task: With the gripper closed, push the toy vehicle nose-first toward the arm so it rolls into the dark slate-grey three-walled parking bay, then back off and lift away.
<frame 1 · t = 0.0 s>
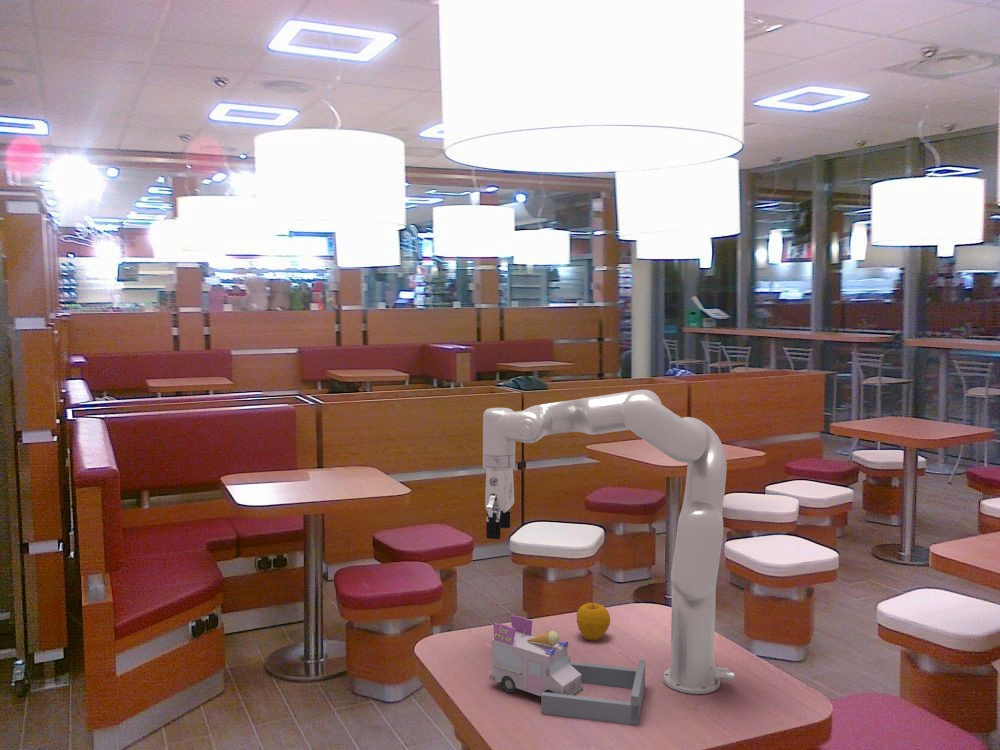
hand: (498, 533, 205), 31 cm above the table, tool pointing down, fingers open, 9 cm apart
toy vehicle: (535, 694, 191), on the table
parking bay: (594, 699, 188), on the table
apple: (593, 638, 222), on the table
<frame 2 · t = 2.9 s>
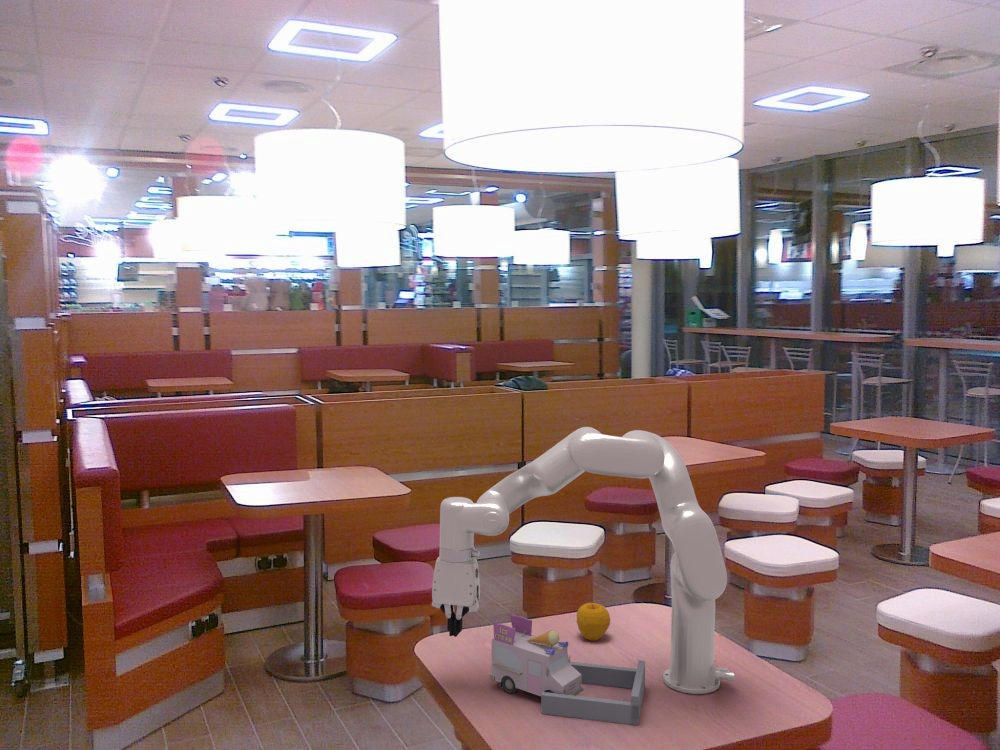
hand: (454, 634, 194), 12 cm above the table, tool pointing down, fingers closed
nothing on the table moved.
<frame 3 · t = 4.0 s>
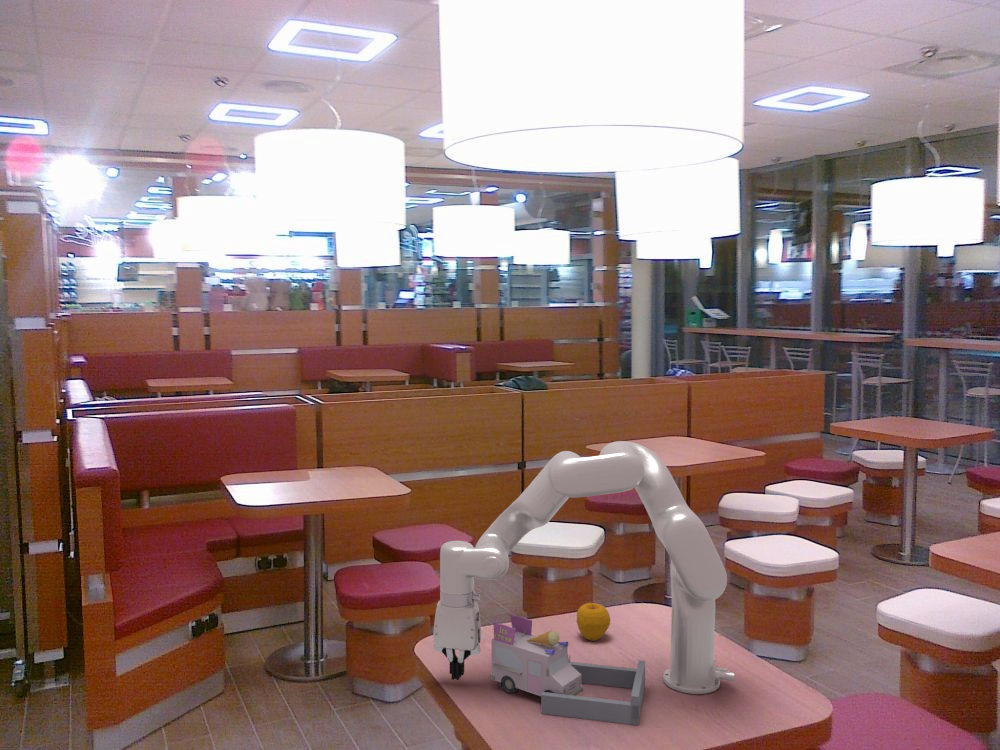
hand: (456, 677, 195), 2 cm above the table, tool pointing down, fingers closed
nothing on the table moved.
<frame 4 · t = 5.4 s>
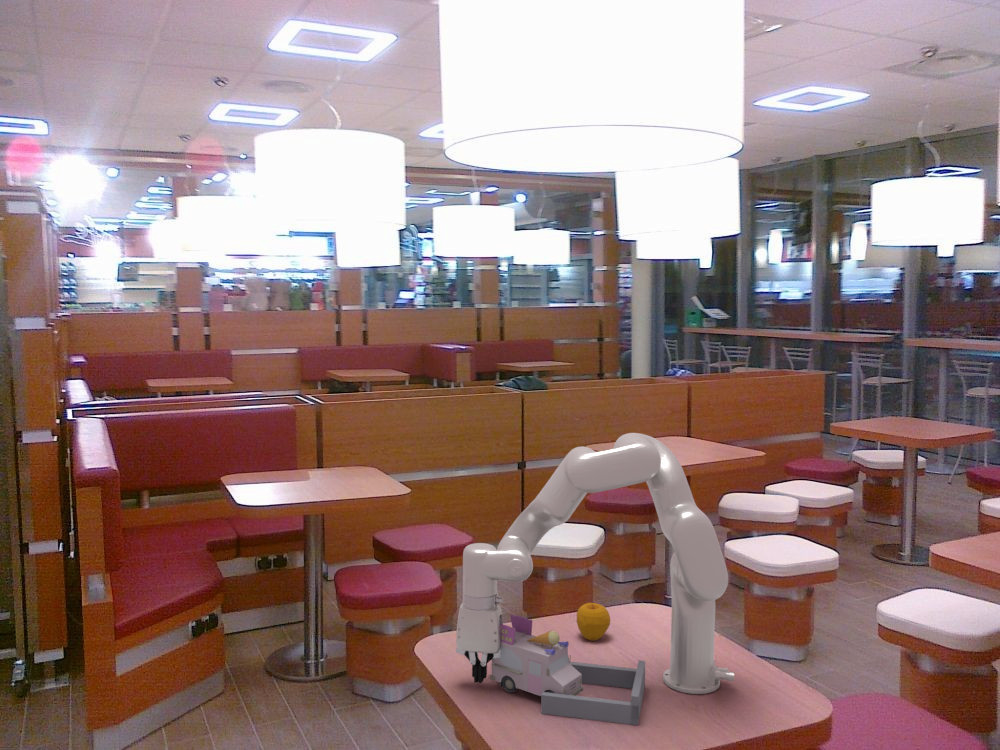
hand: (479, 680, 194), 1 cm above the table, tool pointing down, fingers closed
toy vehicle: (535, 694, 191), on the table, touching gripper
everything else where it was.
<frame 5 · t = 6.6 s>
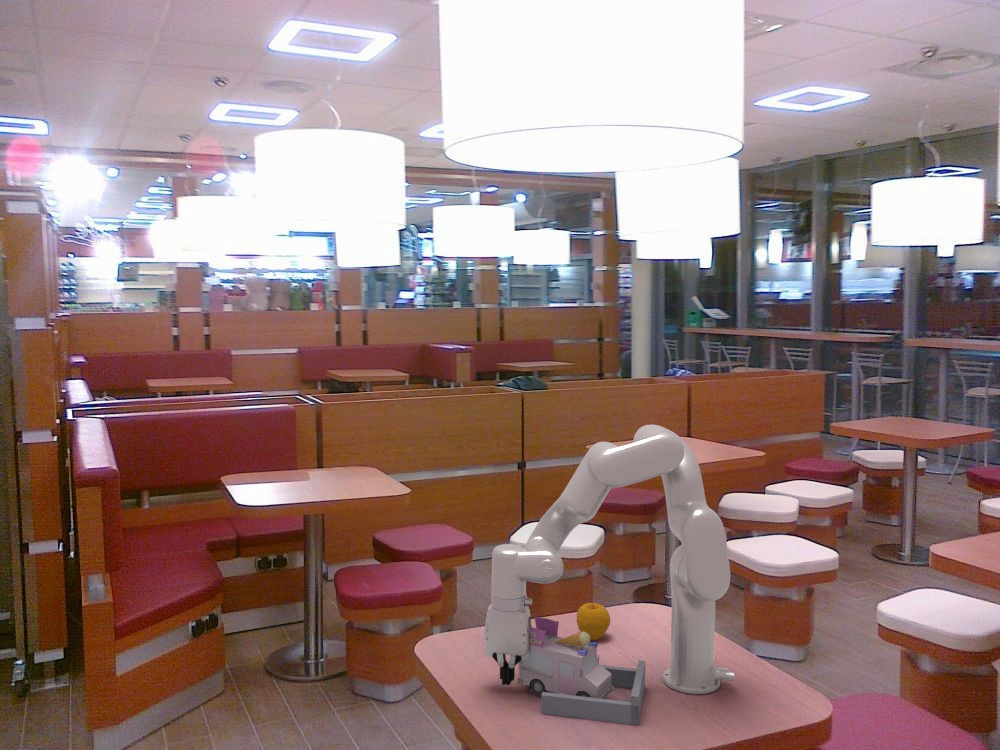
hand: (507, 682, 192), 2 cm above the table, tool pointing down, fingers closed
toy vehicle: (564, 695, 190), on the table, touching gripper
everything else where it was.
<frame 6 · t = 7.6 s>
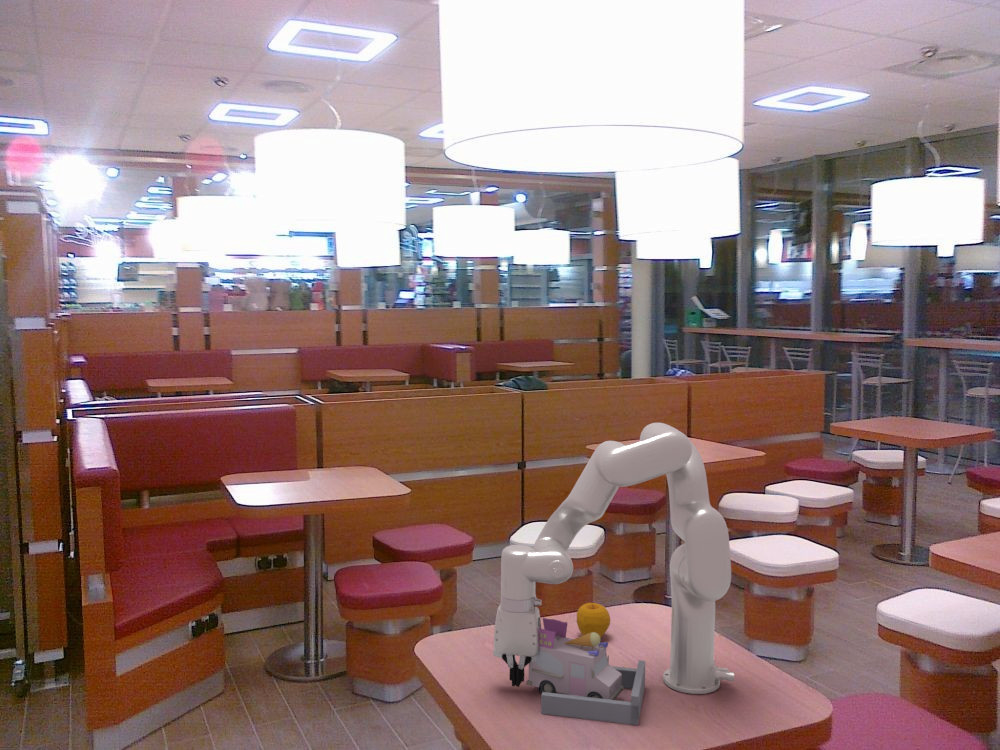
hand: (516, 683, 192), 2 cm above the table, tool pointing down, fingers closed
toy vehicle: (574, 696, 190), on the table, touching gripper
everything else where it was.
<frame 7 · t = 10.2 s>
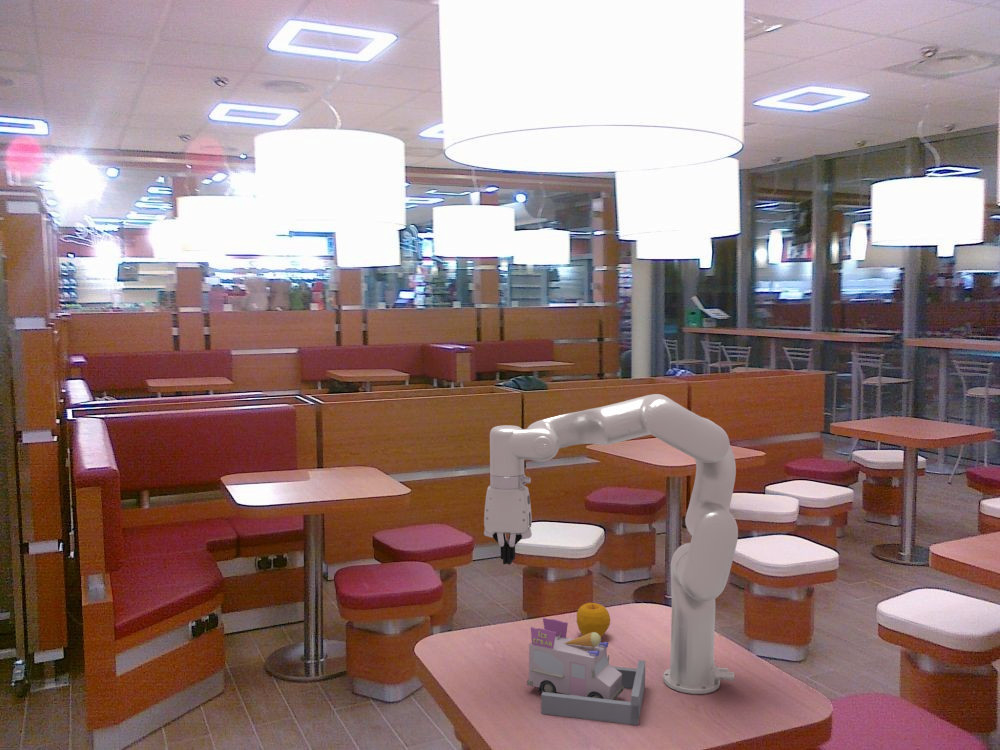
hand: (508, 562, 194), 27 cm above the table, tool pointing down, fingers closed
toy vehicle: (574, 696, 190), on the table
everything else where it was.
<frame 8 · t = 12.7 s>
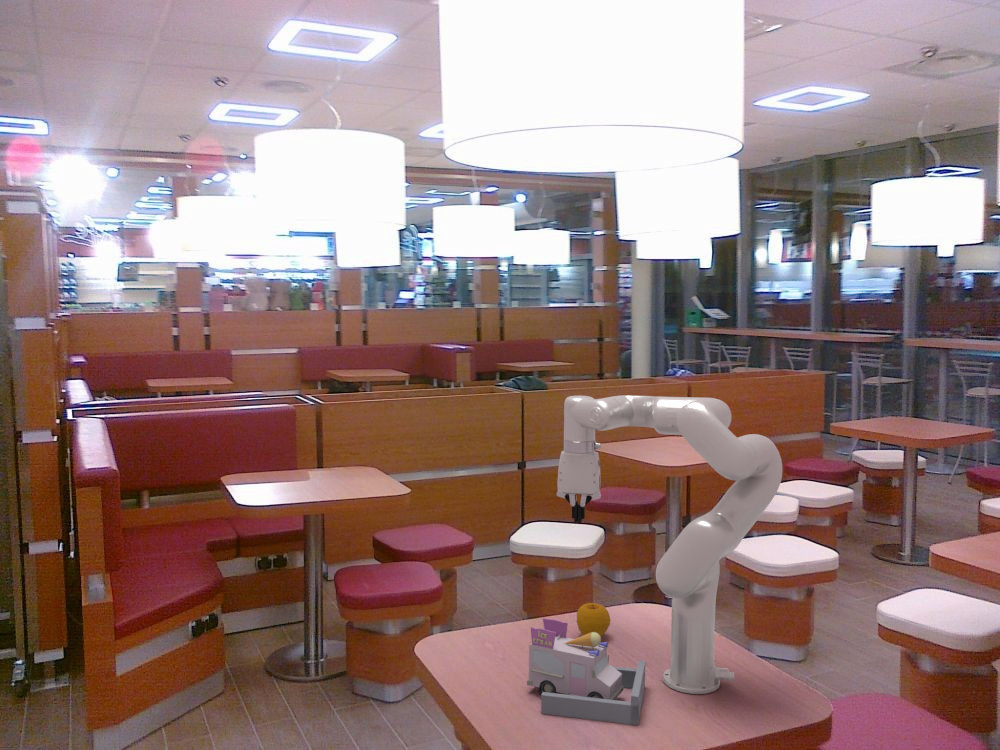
hand: (578, 521, 212), 32 cm above the table, tool pointing down, fingers closed
nothing on the table moved.
at the end: toy vehicle inside the target area (1.8 cm from its centre), on the table; toy vehicle tilted 0°; toy vehicle moved 8.6 cm from its start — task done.
